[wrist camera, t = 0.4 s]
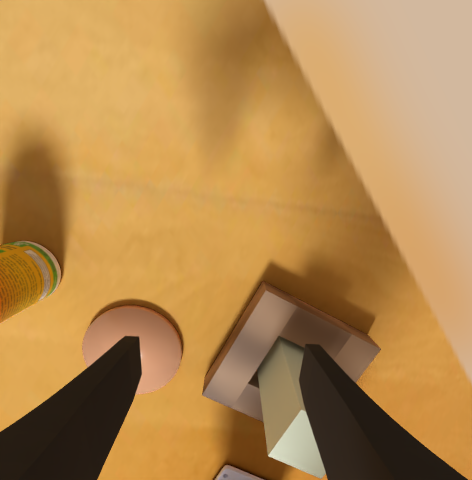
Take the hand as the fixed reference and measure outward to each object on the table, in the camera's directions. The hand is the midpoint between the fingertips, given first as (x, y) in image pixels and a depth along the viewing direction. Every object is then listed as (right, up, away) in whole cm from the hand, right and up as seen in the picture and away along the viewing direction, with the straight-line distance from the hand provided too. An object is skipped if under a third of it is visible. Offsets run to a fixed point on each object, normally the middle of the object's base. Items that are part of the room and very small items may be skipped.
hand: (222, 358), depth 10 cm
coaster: (-9, -5, +12) cm, 16 cm away
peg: (+5, -6, +12) cm, 15 cm away
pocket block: (+5, -6, +12) cm, 15 cm away
